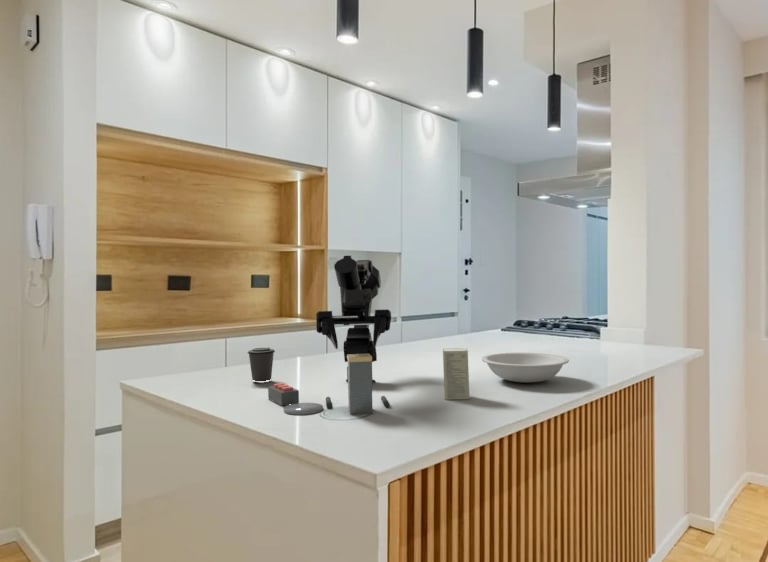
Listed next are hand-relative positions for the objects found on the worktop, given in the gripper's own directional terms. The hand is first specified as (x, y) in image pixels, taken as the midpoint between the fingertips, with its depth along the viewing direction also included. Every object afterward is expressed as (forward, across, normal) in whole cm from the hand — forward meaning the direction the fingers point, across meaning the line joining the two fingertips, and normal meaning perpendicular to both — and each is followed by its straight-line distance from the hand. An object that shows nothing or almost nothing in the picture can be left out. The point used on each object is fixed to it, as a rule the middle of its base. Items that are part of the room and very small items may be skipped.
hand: (355, 347), depth 126 cm
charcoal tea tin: (+15, 0, +4) cm, 16 cm away
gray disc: (+12, -13, +7) cm, 19 cm away
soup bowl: (-2, +50, +21) cm, 54 cm away
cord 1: (+10, -7, +9) cm, 15 cm away
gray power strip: (+6, -18, +14) cm, 23 cm away
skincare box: (+9, +25, +10) cm, 29 cm away
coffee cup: (-14, -26, +33) cm, 44 cm away
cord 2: (+11, +7, +8) cm, 15 cm away
